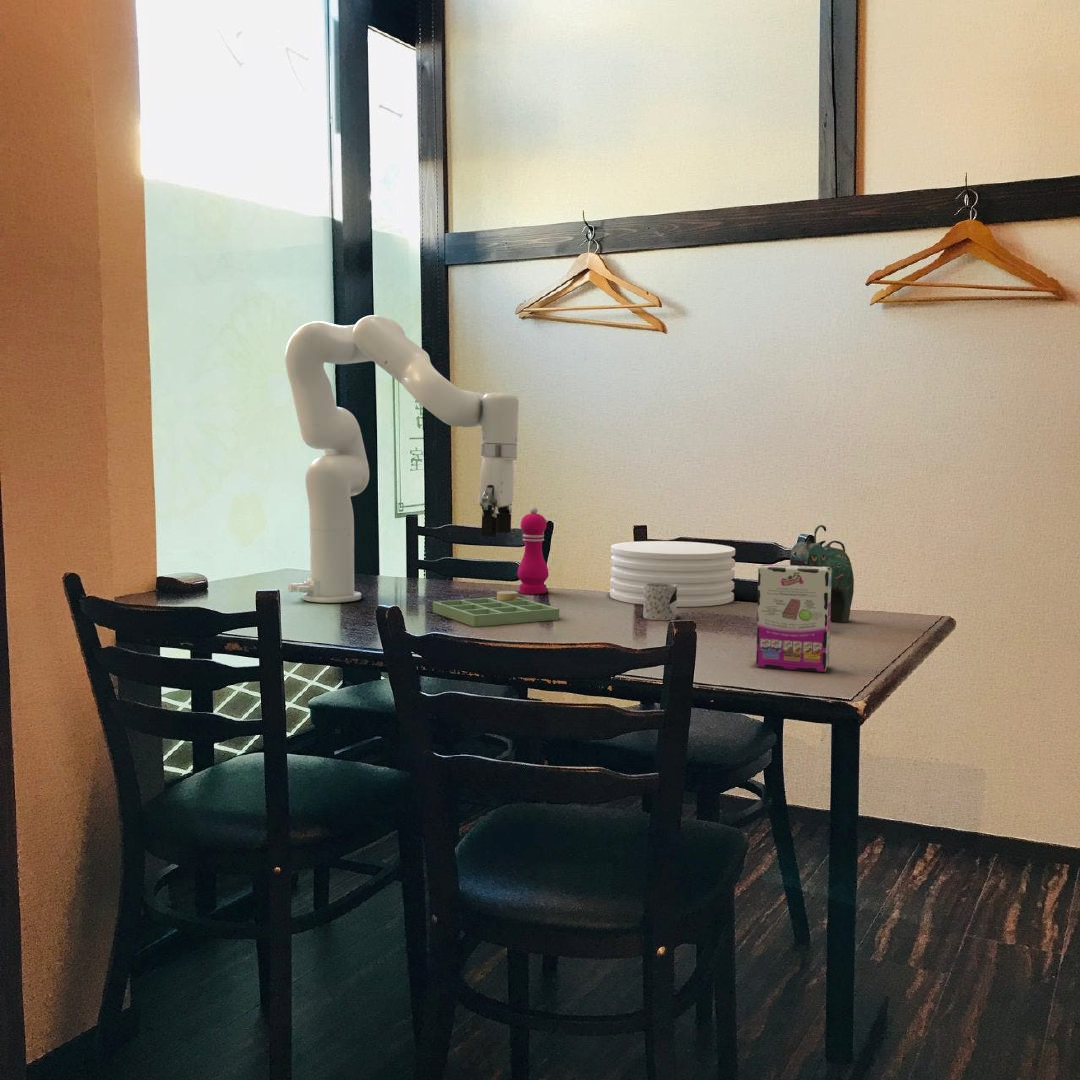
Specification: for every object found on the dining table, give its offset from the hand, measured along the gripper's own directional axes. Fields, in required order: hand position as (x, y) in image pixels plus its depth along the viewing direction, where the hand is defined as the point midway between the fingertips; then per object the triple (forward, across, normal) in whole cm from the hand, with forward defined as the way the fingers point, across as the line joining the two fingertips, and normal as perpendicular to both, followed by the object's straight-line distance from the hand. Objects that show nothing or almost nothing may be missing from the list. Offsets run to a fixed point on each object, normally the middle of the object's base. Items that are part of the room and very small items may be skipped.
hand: (496, 534), depth 234 cm
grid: (+16, +9, +3) cm, 18 cm away
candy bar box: (+14, +41, +63) cm, 77 cm away
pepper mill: (+16, -25, +2) cm, 29 cm away
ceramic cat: (+14, -1, +67) cm, 68 cm away
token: (+15, +1, +3) cm, 15 cm away
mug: (+15, -2, +35) cm, 38 cm away
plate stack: (+15, -28, +33) cm, 46 cm away
